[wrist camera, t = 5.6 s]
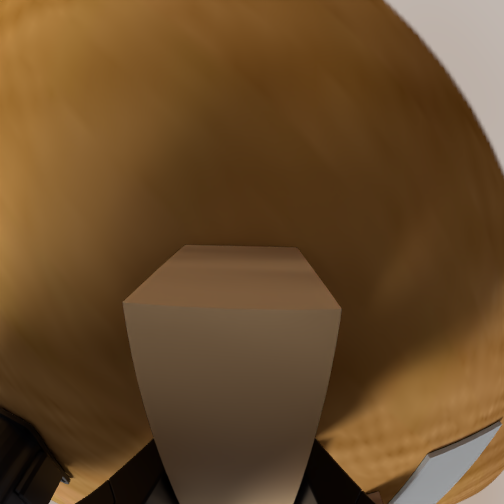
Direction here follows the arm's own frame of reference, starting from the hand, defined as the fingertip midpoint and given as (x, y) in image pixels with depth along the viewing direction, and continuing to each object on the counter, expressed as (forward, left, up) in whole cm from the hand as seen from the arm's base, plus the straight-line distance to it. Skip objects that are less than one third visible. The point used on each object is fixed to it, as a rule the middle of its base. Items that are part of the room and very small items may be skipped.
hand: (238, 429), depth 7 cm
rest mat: (+14, -13, -1) cm, 19 cm away
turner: (0, -2, -1) cm, 2 cm away
